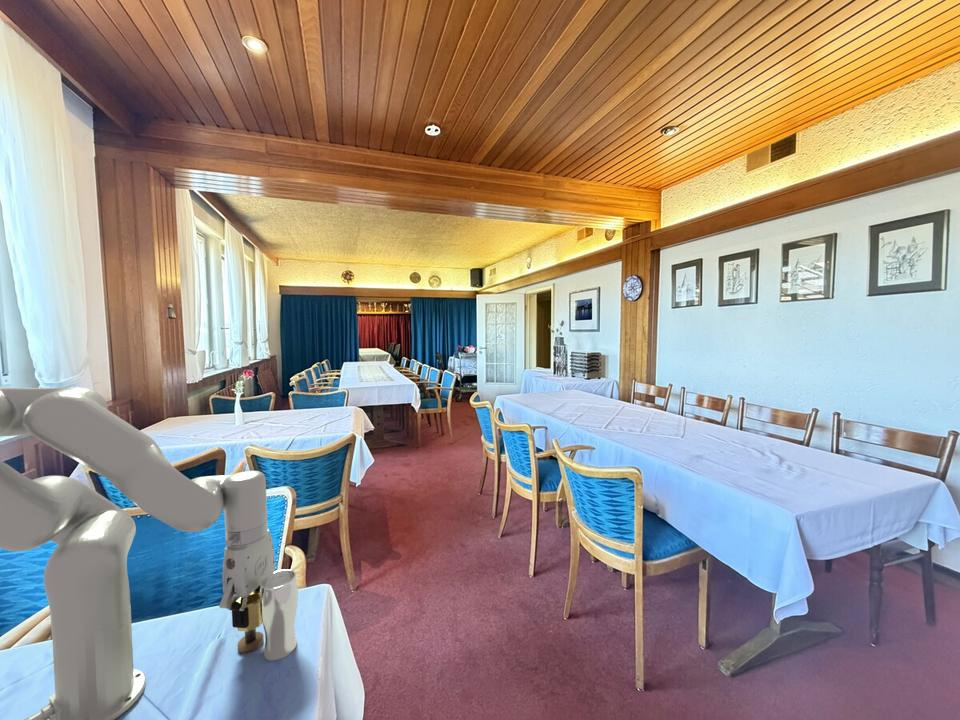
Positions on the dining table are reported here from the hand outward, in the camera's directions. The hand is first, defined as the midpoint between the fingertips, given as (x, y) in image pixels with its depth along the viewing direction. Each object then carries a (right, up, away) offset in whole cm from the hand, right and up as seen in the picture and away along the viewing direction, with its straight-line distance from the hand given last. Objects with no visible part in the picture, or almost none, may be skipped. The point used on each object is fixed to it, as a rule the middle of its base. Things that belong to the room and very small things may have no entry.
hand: (250, 615), depth 79 cm
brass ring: (0, -1, 0) cm, 1 cm away
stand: (0, -6, 0) cm, 6 cm away
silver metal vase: (+7, -6, -1) cm, 9 cm away
